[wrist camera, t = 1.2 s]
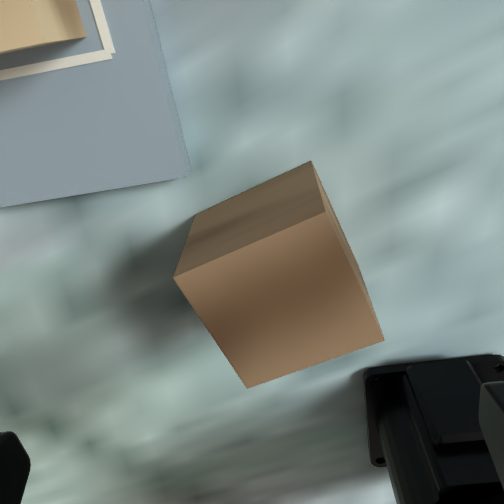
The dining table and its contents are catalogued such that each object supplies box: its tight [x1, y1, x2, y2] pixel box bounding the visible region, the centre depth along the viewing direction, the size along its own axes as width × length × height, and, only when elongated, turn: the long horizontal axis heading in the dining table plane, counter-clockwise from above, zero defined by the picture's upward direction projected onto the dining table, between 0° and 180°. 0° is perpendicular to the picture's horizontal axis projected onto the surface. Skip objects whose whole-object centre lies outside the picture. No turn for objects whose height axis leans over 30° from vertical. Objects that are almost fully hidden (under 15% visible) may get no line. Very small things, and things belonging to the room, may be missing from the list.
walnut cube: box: [173, 161, 384, 388], centre depth 16 cm, size 5×5×5 cm
